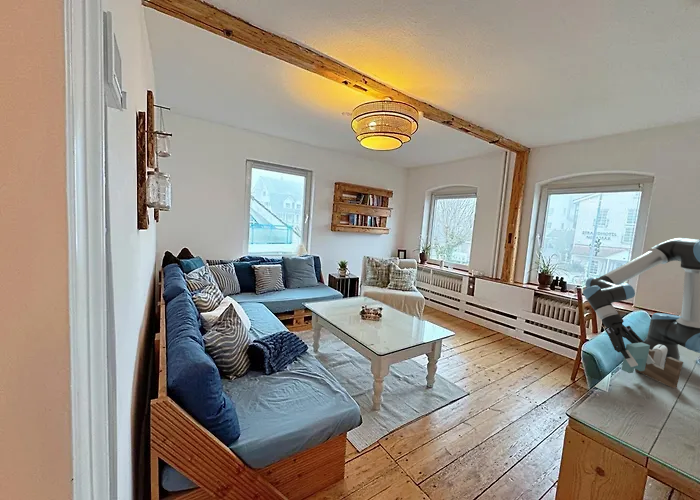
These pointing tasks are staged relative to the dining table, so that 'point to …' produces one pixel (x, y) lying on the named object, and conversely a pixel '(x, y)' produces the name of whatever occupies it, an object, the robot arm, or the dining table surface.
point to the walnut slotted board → (664, 371)
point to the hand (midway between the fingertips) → (643, 364)
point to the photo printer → (660, 355)
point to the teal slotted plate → (636, 356)
